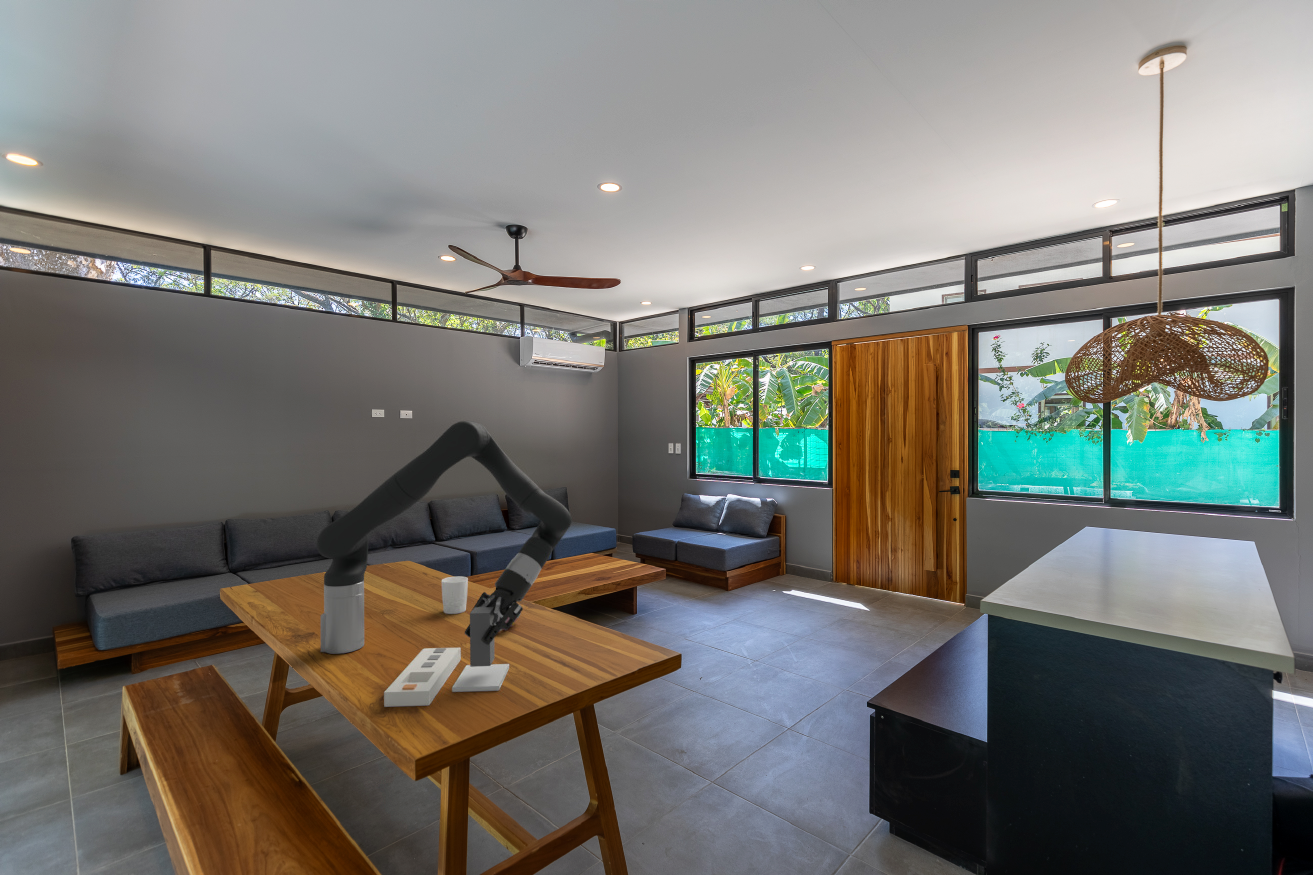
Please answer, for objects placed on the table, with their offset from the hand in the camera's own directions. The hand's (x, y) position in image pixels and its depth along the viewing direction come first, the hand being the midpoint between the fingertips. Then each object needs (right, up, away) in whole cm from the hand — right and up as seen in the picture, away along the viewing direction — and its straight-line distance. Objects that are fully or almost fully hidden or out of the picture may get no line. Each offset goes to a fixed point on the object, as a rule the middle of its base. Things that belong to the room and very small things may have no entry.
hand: (476, 638), depth 130 cm
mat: (+1, -10, +1) cm, 10 cm away
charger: (+1, -6, +1) cm, 6 cm away
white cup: (-23, -9, +52) cm, 57 cm away
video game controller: (-2, -10, +36) cm, 37 cm away
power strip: (-12, -10, 0) cm, 15 cm away
